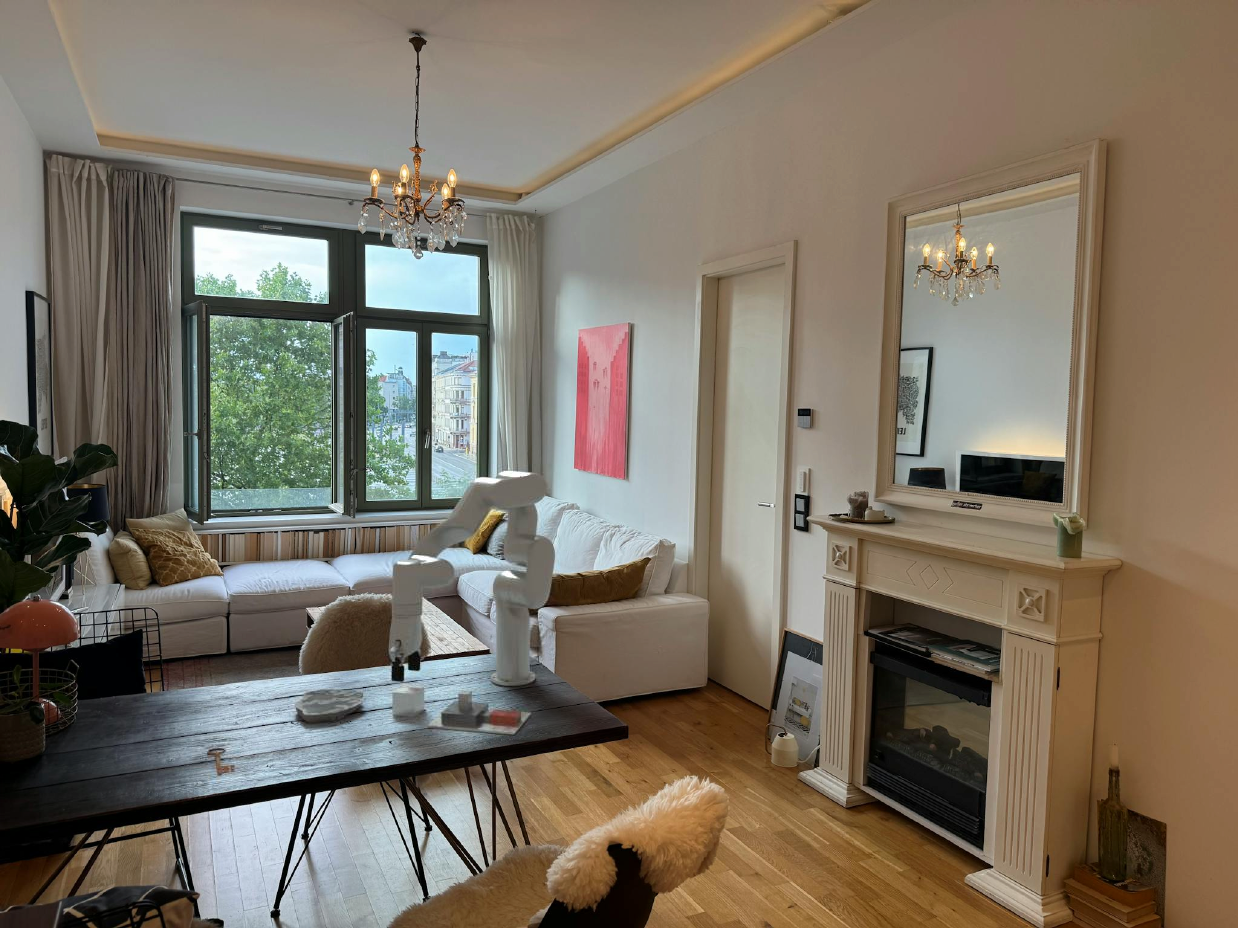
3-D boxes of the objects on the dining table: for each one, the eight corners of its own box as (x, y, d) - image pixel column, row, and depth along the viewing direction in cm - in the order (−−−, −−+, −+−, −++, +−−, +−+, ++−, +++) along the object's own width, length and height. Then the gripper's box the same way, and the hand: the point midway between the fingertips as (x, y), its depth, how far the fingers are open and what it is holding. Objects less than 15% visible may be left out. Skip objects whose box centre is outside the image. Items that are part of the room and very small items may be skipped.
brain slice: (368, 720, 218) (368, 708, 217) (296, 729, 211) (296, 717, 211) (361, 695, 236) (361, 685, 236) (294, 703, 230) (294, 692, 229)
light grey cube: (402, 707, 226) (402, 684, 226) (424, 708, 225) (424, 686, 225) (392, 715, 220) (392, 692, 220) (414, 717, 219) (414, 693, 219)
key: (239, 774, 186) (234, 749, 200) (239, 770, 186) (234, 745, 199) (209, 777, 184) (206, 751, 197) (209, 773, 184) (206, 747, 197)
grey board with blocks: (449, 707, 226) (449, 681, 226) (530, 714, 222) (530, 687, 222) (427, 727, 212) (427, 699, 212) (514, 734, 208) (514, 706, 208)
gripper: (407, 601, 230) (406, 665, 231) (377, 615, 213) (376, 684, 214) (434, 603, 229) (433, 667, 229) (406, 617, 212) (405, 686, 212)
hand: (406, 675), depth 222 cm, fingers open, 9 cm apart
